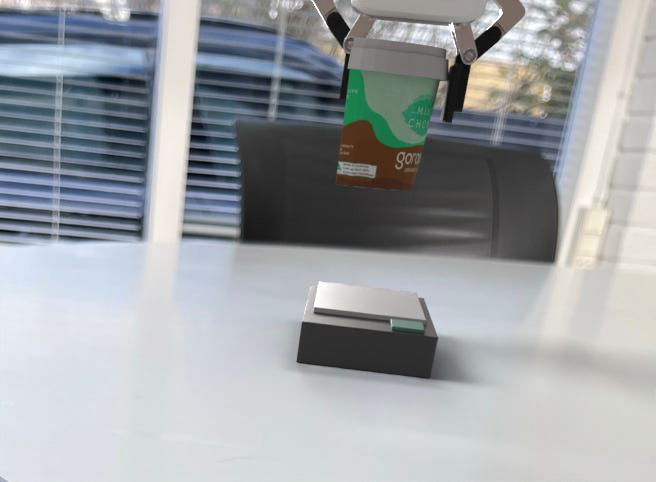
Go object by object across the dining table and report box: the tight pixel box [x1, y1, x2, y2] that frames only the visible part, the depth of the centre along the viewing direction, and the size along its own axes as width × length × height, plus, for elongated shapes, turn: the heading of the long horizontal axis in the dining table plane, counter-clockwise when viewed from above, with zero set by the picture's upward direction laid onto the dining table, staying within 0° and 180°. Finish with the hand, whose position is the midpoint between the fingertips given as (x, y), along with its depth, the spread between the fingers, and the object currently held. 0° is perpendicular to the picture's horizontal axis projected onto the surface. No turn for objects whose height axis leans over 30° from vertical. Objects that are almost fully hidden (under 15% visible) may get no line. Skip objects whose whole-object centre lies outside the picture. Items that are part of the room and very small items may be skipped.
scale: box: [296, 281, 439, 379], centre depth 86 cm, size 10×18×3 cm, turn 171°
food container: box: [335, 37, 450, 192], centre depth 83 cm, size 12×6×10 cm, turn 155°
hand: (398, 115), depth 83 cm, fingers closed on food container, 6 cm apart
